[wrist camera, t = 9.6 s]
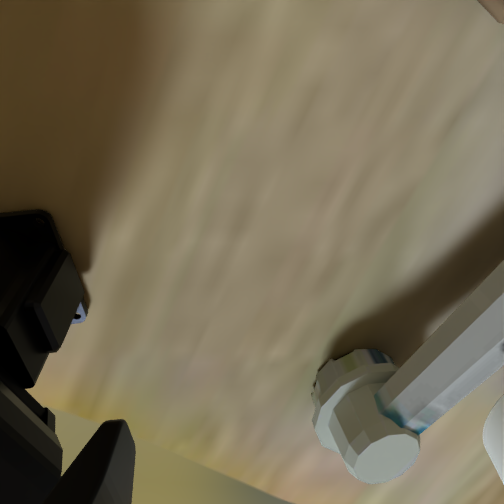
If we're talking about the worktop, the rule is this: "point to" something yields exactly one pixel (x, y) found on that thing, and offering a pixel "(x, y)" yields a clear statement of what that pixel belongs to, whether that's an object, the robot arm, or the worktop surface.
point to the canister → (495, 436)
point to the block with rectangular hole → (494, 8)
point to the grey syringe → (408, 387)
